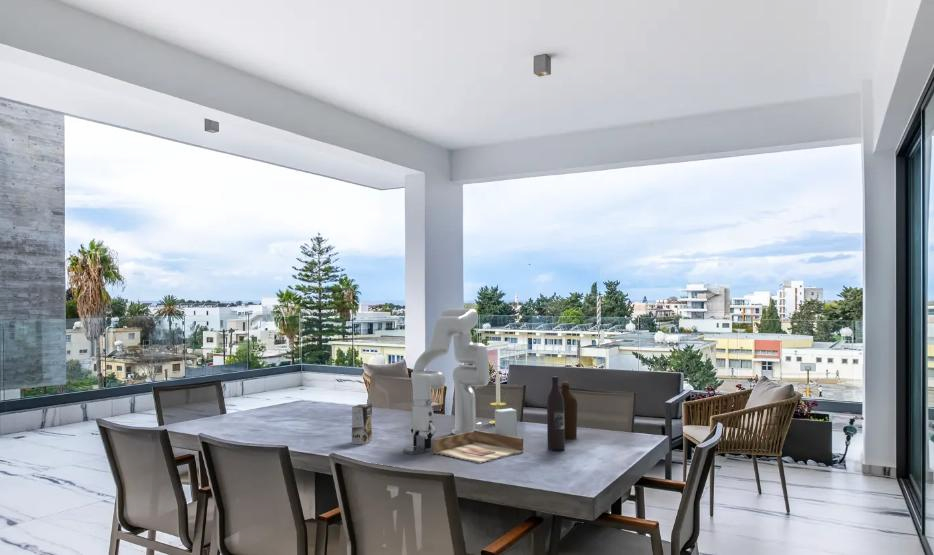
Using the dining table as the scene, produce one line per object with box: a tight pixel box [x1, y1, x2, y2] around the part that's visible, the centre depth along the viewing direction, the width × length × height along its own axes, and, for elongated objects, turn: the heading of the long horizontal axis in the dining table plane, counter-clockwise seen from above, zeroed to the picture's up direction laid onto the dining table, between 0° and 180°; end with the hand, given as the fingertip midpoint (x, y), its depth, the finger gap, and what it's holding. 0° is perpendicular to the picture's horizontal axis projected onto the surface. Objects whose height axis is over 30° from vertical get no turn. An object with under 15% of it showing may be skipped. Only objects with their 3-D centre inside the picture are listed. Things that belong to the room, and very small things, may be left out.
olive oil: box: [560, 380, 578, 440], centre depth 288 cm, size 11×11×25 cm
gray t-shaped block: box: [403, 434, 430, 456], centre depth 260 cm, size 9×6×6 cm, turn 137°
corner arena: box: [432, 429, 524, 464], centre depth 258 cm, size 26×26×6 cm
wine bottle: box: [546, 375, 566, 452], centre depth 264 cm, size 7×7×30 cm
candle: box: [488, 370, 507, 425], centre depth 325 cm, size 10×10×27 cm
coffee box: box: [351, 403, 373, 445], centre depth 280 cm, size 9×6×16 cm
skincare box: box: [494, 407, 518, 437], centre depth 274 cm, size 8×6×15 cm
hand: (422, 446), depth 263 cm, fingers closed on gray t-shaped block, 6 cm apart
